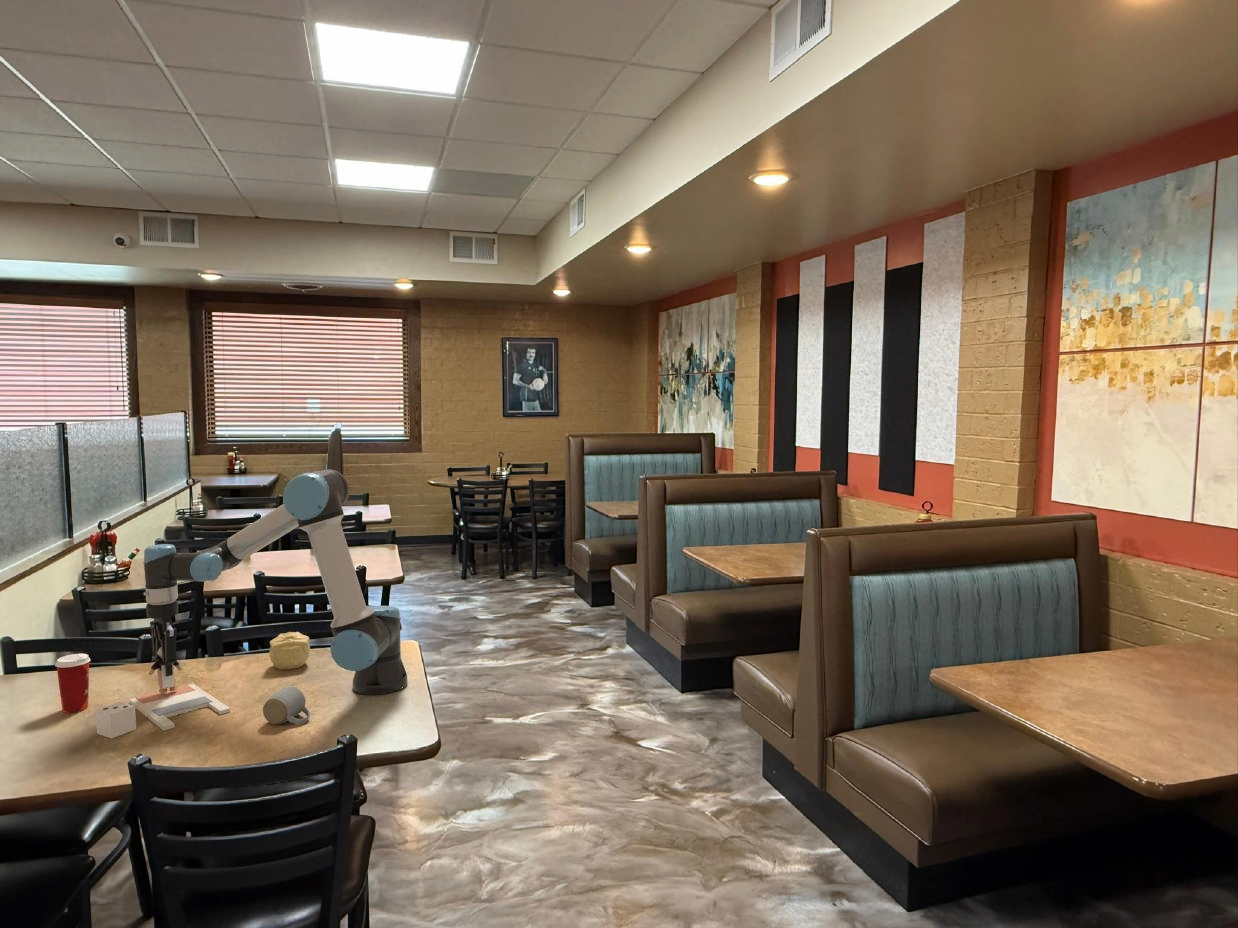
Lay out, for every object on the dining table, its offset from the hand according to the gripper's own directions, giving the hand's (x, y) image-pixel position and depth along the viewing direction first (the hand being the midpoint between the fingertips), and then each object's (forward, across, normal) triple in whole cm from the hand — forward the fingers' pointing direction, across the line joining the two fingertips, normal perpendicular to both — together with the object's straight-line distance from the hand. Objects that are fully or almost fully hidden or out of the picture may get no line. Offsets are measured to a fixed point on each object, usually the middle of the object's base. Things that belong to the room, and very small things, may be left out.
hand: (165, 684), depth 215 cm
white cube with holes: (+4, +15, -16) cm, 22 cm away
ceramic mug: (+4, +39, +16) cm, 42 cm away
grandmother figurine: (+2, 0, 0) cm, 2 cm away
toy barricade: (+4, +10, 0) cm, 10 cm away
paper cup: (+4, -9, -19) cm, 22 cm away
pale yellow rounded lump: (+4, 0, +35) cm, 35 cm away
